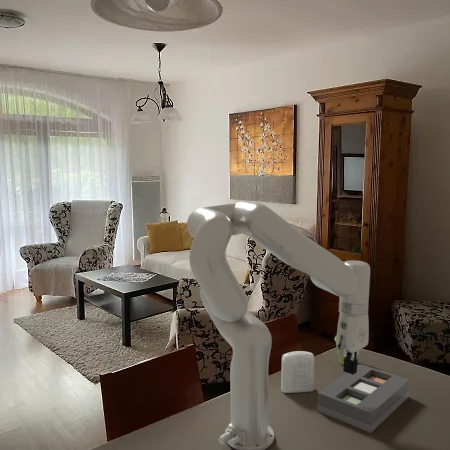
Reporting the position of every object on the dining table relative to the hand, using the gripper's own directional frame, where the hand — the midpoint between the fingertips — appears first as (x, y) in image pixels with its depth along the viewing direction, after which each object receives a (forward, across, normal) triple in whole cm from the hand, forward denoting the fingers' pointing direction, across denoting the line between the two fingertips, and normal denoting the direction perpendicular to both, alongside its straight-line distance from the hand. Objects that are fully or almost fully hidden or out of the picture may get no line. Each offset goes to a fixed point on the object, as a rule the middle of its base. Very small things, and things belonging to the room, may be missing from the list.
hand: (349, 372), depth 125 cm
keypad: (+12, +9, 0) cm, 15 cm away
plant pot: (+12, +31, +16) cm, 37 cm away
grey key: (+9, +9, 0) cm, 13 cm away
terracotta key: (+10, +17, 0) cm, 20 cm away
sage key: (+10, +1, 0) cm, 10 cm away
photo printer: (+13, +3, +18) cm, 23 cm away
